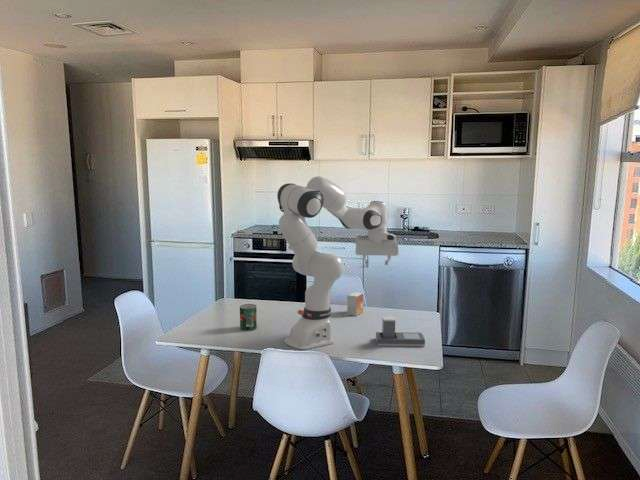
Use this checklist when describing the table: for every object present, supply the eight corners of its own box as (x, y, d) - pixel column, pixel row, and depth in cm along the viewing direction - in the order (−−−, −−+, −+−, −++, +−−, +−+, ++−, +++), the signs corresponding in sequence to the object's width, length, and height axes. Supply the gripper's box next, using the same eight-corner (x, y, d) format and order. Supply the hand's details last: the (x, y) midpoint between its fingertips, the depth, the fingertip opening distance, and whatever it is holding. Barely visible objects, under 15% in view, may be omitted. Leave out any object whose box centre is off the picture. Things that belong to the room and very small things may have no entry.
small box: (356, 316, 251) (356, 296, 249) (346, 314, 254) (347, 295, 252) (363, 312, 258) (363, 293, 256) (354, 310, 261) (354, 291, 259)
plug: (383, 342, 210) (383, 319, 209) (382, 338, 215) (382, 316, 214) (394, 342, 210) (395, 319, 208) (393, 338, 215) (394, 316, 213)
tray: (378, 338, 218) (379, 337, 218) (377, 331, 228) (377, 330, 228) (401, 339, 218) (401, 337, 218) (398, 331, 228) (398, 330, 228)
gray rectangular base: (377, 346, 208) (377, 339, 208) (375, 339, 217) (376, 332, 217) (424, 347, 208) (425, 339, 207) (421, 340, 217) (421, 332, 216)
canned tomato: (236, 328, 231) (236, 306, 230) (249, 324, 237) (249, 302, 235) (247, 332, 226) (246, 309, 224) (260, 328, 232) (259, 306, 230)
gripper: (355, 236, 227) (354, 265, 228) (399, 236, 226) (398, 266, 227) (354, 234, 233) (354, 263, 235) (398, 235, 232) (397, 263, 234)
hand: (376, 264), depth 231 cm, fingers open, 8 cm apart
